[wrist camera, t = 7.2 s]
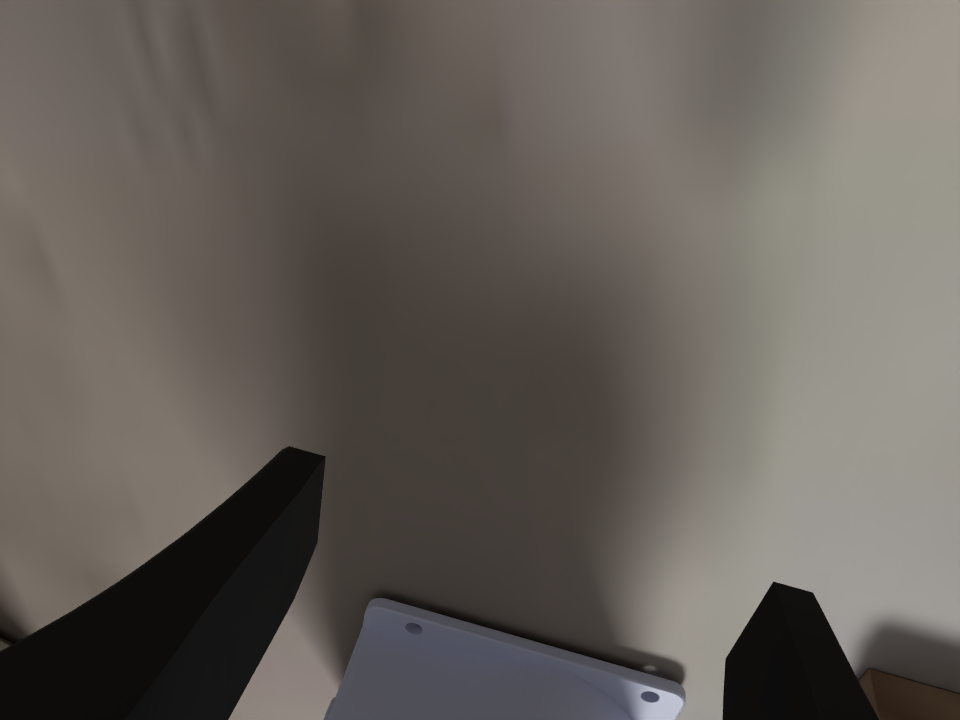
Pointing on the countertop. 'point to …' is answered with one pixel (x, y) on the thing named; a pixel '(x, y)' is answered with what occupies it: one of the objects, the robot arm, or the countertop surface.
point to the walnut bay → (908, 698)
